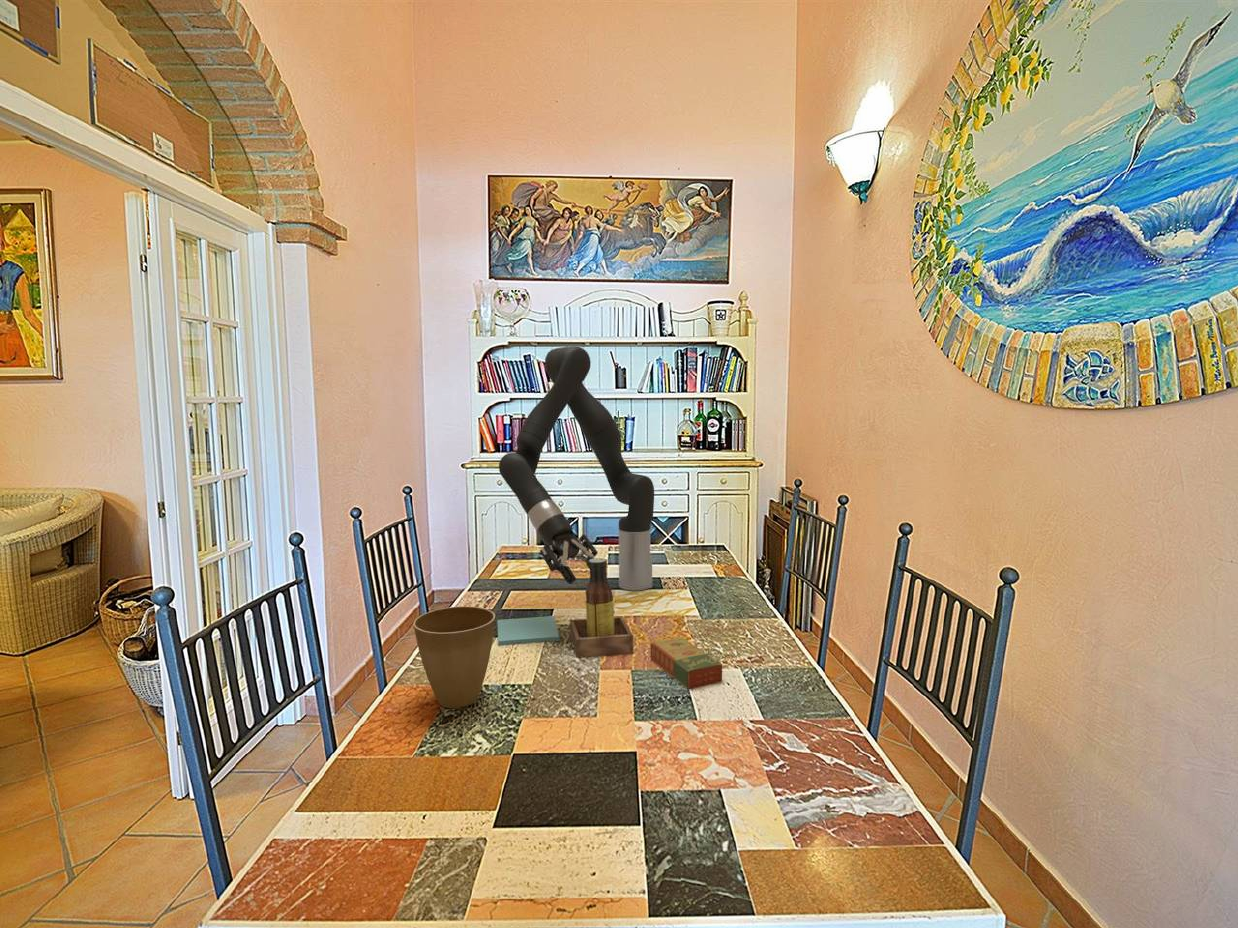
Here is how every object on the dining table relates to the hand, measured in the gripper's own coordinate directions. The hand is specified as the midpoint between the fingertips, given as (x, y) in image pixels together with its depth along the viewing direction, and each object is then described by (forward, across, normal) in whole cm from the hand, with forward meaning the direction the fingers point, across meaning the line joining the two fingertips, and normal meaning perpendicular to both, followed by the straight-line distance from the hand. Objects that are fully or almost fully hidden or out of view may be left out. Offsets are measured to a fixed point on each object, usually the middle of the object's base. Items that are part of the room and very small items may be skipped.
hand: (585, 577), depth 155 cm
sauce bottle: (+14, 0, +8) cm, 16 cm away
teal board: (0, -5, +21) cm, 21 cm away
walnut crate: (+14, 0, +8) cm, 15 cm away
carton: (+30, +1, -8) cm, 31 cm away
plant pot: (+11, -37, +10) cm, 40 cm away
